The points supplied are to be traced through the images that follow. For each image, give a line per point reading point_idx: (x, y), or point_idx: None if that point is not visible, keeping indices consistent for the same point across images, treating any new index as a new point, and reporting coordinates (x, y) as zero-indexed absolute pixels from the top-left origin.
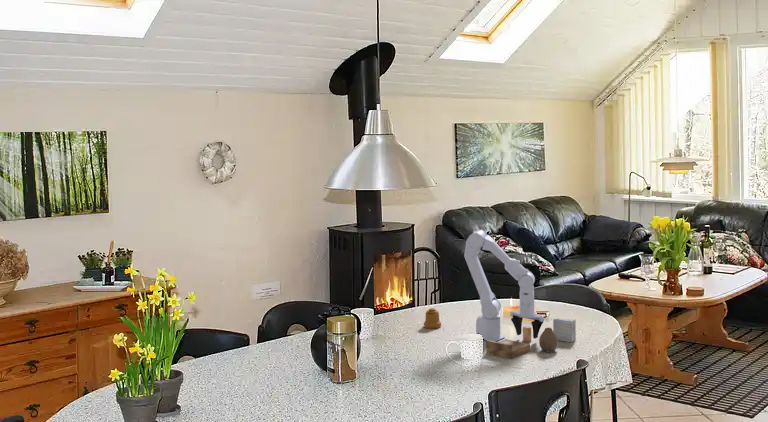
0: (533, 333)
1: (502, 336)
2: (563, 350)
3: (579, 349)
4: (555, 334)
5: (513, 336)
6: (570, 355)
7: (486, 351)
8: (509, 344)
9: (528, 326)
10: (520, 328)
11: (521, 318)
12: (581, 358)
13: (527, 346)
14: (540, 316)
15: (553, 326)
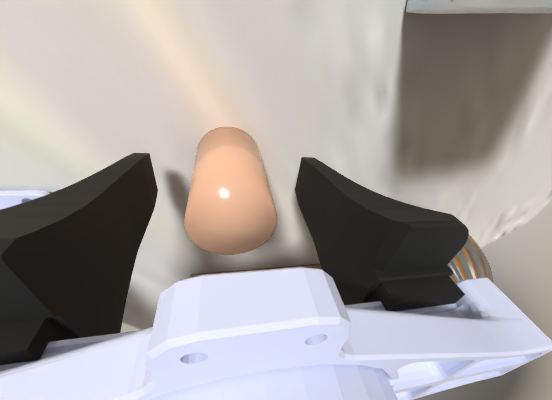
0: (310, 222)
1: (23, 198)
2: (459, 189)
3: (547, 132)
4: (492, 280)
5: (49, 113)
6: (479, 223)
7: None
8: None
9: (223, 191)
10: (131, 190)
11: (60, 265)
12: (513, 226)
13: None
14: (489, 367)
15: (536, 11)
